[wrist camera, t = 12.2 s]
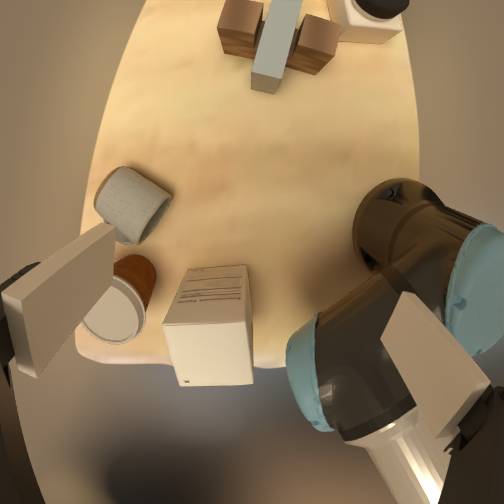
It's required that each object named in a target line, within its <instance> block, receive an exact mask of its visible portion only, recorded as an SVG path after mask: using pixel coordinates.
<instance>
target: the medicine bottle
mask: <svg viewBox="0 0 504 504" xmlns="http://www.w3.org/2000/svg"><path fill="white" fill-rule="evenodd" d="M327 4H328V8H329V13H330V18H331V21H332V22H335V23H337V24H340V25H342V26H341V31H340V35H339V39H338V41H345V42H362V43H374V44H382V43H384V42H385V41H387V40H388V39H390V38H391V37H393V36H395V35H396V34H398V33H399V32H401V31H402V25H401V21H400V17H399V14H400V13H401V12H402V11H404V10H405V9H406V8H407V7H408V5H409V0H327Z"/></svg>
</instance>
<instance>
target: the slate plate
mask: <svg viewBox="0 0 504 504" xmlns="http://www.w3.org/2000/svg"><path fill="white" fill-rule="evenodd" d="M302 1H303V0H272V1H271V5H270V8H269V11H268V15H267V18H266V21H265V25H264V28H263V32H262V35H261V39H260V42H259V46H258V49H257V53H256V56H255V60H254V64H253V67H252V71H251V89H253V90H257V91H262V92H266V93H270V94H274V93H275V91H276V89H277V87H278V85H279V83H280V81H281V79H282V76H283V72H284V68H285V64H286V61H287V57H288V53H289V49H290V45H291V42H292V38H293V34H294V30H295V27H296V23H297V19H298V16H299V12H300V8H301V4H302Z"/></svg>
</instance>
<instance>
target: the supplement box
mask: <svg viewBox="0 0 504 504" xmlns="http://www.w3.org/2000/svg"><path fill="white" fill-rule="evenodd" d="M162 329H163V333H164V336H165V339H166V343H167V346H168V350H169V353H170V359H171V361H172V363H173V366H174V369H175V372H176V376H177V379H178V382H179V385H180V386H211V385H243V384H252V383H254V372H253V371H254V367H253V319H252V305H251V296H250V287H249V278H248V269H247V265H235V266H224V267H214V268H203V269H191V270H187V272H186V274H185V276H184V278H183V280H182V282H181V285H180V287H179V289H178V291H177V293H176V295H175V297H174V300H173V302H172V304H171V306H170V308H169V310H168V313H167V315H166V317H165V319H164V321H163V323H162Z"/></svg>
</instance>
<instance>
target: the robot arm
mask: <svg viewBox="0 0 504 504" xmlns="http://www.w3.org/2000/svg"><path fill="white" fill-rule="evenodd" d="M116 231H117V226H114V225H110V224H105V223H100V224H98V225H97V226H95V227H94V228H92V229H90V230H89V231H87V232H86V233H84V234H83V235H81V236H80V237H78V238H76V239H75V240H73V241H72V242H71V243H69V244H68V245H66V246H65V247H63V248H61V249H60V250H58V251H57V252H56V253H54V254H53V255H52V256H50V257H48V258H47V259H46V260H44V261H43V262H36V263H33V264H30V265H28V266H26V267H24V268H23V269H21V270H20V271H19V272H18V274H17V273H16V274H14V275H13V276H12V277H11V279H10V278H9V279H8V280H6V281H5V282H4V283H2V284H1V285H0V504H45V501H44V499H43V496H42V494H41V491H40V488H39V486H38V483H37V480H36V477H35V474H34V471H33V468H32V465H31V462H30V459H29V456H28V452H27V449H26V445H25V442H24V438H23V434H22V430H21V426H20V421H19V416H18V412H17V407H16V401H15V396H14V390H13V383H12V377H11V370H10V367H9V364H8V363H9V362H10V360H11V359H12V358H13V357H14V356H15V359H16V362H17V366H18V369H19V370H21V371H23V372H24V373H26V374H28V375H31V376H33V377H35V378H38V377H39V376H40V374H41V373H42V372H43V370H44V369H45V368H46V366H47V365H48V363H49V362H50V361H51V360H52V358H53V357H54V356H55V354H56V353H57V352H58V350H59V349H60V347H61V346H62V345H63V344H64V342H65V341H66V340H67V339H68V337H69V336H70V335H71V334H72V332H73V331H74V330H75V328H76V327H77V326H78V325H79V323H80V322H81V321H82V320H83V319H84V317H85V316H86V315H87V314H88V312H89V311H90V310H91V309H92V308H93V306H94V305H95V304H96V303H97V302H98V300H99V299H100V298H101V297H102V296H103V294H104V293H105V292H106V291H107V290H108V289H109V287H110V286H111V285H112V284H113V269H114V254H115V242H116ZM353 244H354V248H355V251H356V254H357V256H358V258H359V259H360V261H361V262H362V263H363V265H364V266H365V267H366V268H367V269H368V270H369V271H370V272H371V273H372V274H373V276H372V277H371V278H370V279H368V280H367V281H366V282H364V283H363V284H362V285H360V286H359V287H357V288H356V289H355V290H353V291H352V292H351V293H349V294H348V295H346V296H345V297H343V298H342V299H341V300H339V301H338V302H336V303H335V304H333V305H332V306H331V307H329V308H328V309H326V310H325V311H323V312H319V313H317V314H316V315H315V316H314V318H313V319H312V320H311V321H309V322H308V323H307V324H305V325H304V326H303V327H301V328H300V329H298V330H297V331H296V332H295V333H294V334H293V335H292V336H291V337H290V339H289V341H288V343H287V347H286V368H287V374H288V378H289V382H290V385H291V388H292V391H293V394H294V396H295V399H296V401H297V403H298V405H299V407H300V409H301V411H302V412H303V414H304V415H305V417H306V418H307V420H309V421H311V422H312V425H313V427H315V428H316V429H317V430H319V431H323V432H326V431H333V430H335V429H337V430H338V432H339V433H340V435H341V437H342V439H343V440H344V442H345V443H346V444H351V445H355V446H360V447H364V448H366V450H367V451H368V453H369V455H370V456H371V458H372V459H373V462H374V463H375V465H376V467H377V468H378V470H379V472H380V473H381V475H382V477H383V479H384V480H385V482H386V484H387V486H388V487H389V489H390V491H391V492H392V494H393V496H394V497H395V499H396V501H397V503H398V504H504V387H501V386H497V387H495V388H494V389H493V387H492V386H491V385H490V380H489V379H488V378H487V377H486V375H485V374H484V373H483V371H482V370H481V369H480V368H479V366H478V365H477V364H476V363H475V362H474V360H473V359H472V358H471V356H474V355H475V354H476V353H477V354H481V353H483V352H485V351H487V350H488V349H489V348H491V347H492V346H493V345H494V344H495V343H496V342H497V341H498V340H499V339H500V338H501V337H502V335H503V334H504V233H502V232H501V231H499V230H497V228H496V227H495V226H493V225H492V224H488V223H484V222H482V221H480V220H478V219H475V218H473V217H471V216H468V215H466V214H463V213H461V212H459V211H456V210H454V209H451V208H449V207H446V206H445V205H444V204H443V202H442V201H441V200H440V199H439V197H438V196H437V195H436V194H435V193H434V192H433V191H432V190H431V189H430V188H429V187H427V186H425V185H424V184H422V183H420V182H417V181H413V180H410V179H403V178H398V179H392V180H388V181H386V182H383V183H381V184H380V185H378V186H377V187H375V188H374V189H373V190H372V191H370V192H369V193H368V195H367V196H366V197H365V198H364V200H363V201H362V203H361V204H360V206H359V208H358V210H357V213H356V215H355V219H354V223H353ZM457 425H458V427H459V428H460V430H461V431H460V432H459V433H458V434H457V436H456V437H455V435H454V433H453V430H454V429H455V428H456V426H457Z"/></svg>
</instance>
